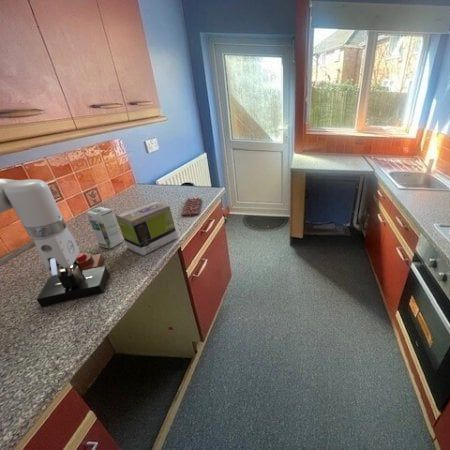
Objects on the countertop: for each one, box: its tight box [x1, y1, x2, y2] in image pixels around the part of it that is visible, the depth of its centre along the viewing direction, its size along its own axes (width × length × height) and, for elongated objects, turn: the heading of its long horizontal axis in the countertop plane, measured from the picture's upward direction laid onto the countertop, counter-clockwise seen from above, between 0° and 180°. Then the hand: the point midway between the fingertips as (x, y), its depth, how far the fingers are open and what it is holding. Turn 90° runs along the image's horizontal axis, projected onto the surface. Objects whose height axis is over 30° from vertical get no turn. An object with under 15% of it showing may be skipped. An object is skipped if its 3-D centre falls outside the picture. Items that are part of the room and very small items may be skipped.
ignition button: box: [77, 251, 86, 262], centre depth 82 cm, size 4×4×2 cm
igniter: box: [78, 252, 104, 270], centre depth 83 cm, size 10×8×4 cm
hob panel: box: [36, 265, 109, 308], centre depth 75 cm, size 14×10×3 cm
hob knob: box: [60, 264, 83, 283], centre depth 73 cm, size 4×4×5 cm
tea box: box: [115, 200, 178, 256], centre depth 95 cm, size 15×10×15 cm, turn 152°
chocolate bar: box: [181, 197, 202, 217], centre depth 128 cm, size 7×19×2 cm, turn 15°
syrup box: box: [86, 206, 124, 250], centre depth 94 cm, size 6×6×14 cm
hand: (73, 280), depth 74 cm, fingers closed on hob knob, 4 cm apart
